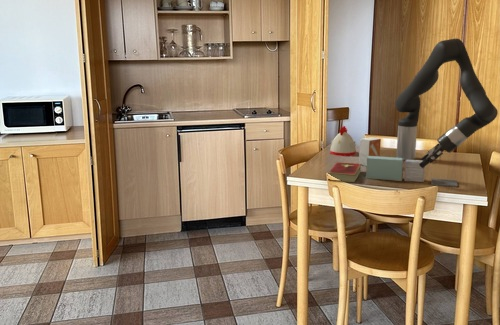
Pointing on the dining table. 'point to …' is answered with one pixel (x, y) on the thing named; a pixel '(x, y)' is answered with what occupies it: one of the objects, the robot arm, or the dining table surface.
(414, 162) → the grey upright block
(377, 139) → the small box
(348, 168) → the hardcover book
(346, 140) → the cream red beanie hat
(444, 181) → the rubber mat
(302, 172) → the dining table surface
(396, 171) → the block
